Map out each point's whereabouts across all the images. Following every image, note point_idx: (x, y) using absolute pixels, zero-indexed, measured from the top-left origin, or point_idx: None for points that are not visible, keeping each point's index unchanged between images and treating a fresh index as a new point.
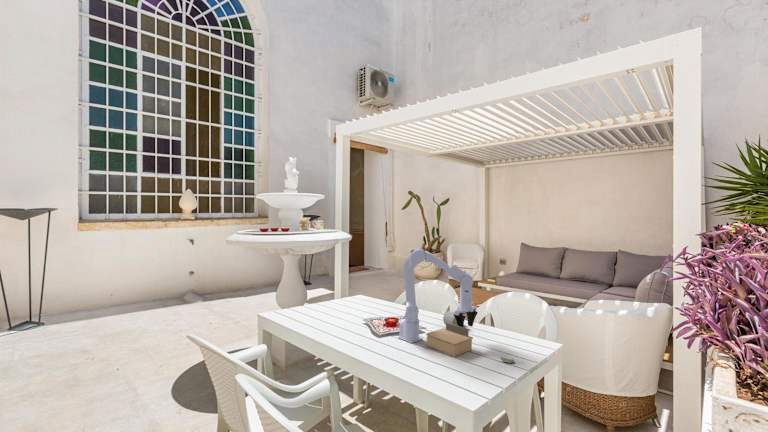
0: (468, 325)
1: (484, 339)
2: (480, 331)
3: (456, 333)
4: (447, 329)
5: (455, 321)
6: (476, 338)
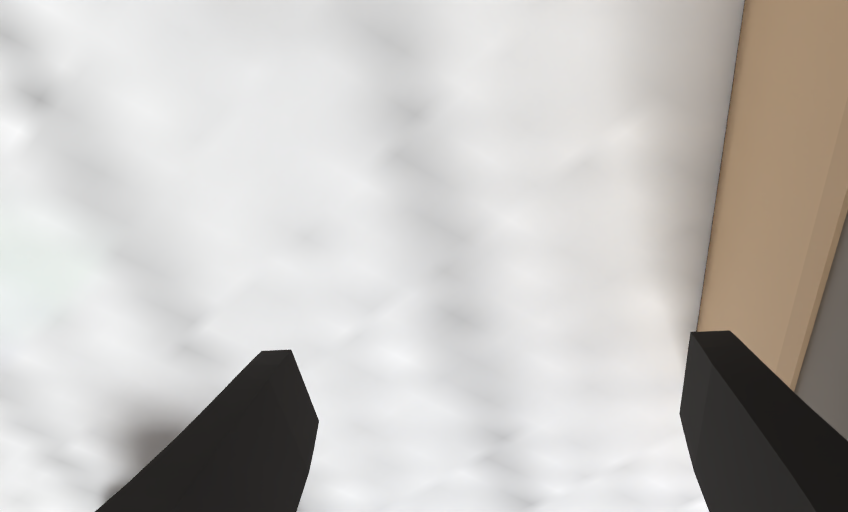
0: (315, 420)
1: (112, 124)
2: (14, 346)
3: None
4: None
5: None
6: (212, 218)
